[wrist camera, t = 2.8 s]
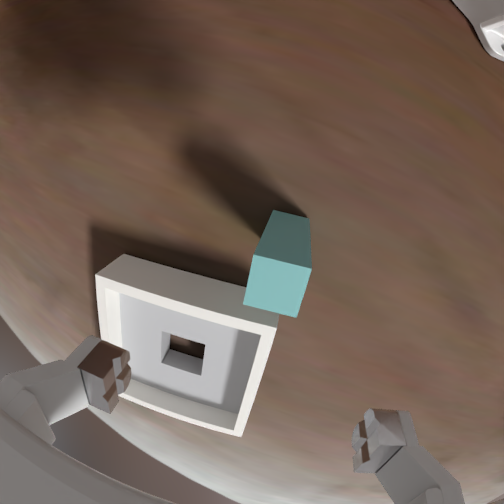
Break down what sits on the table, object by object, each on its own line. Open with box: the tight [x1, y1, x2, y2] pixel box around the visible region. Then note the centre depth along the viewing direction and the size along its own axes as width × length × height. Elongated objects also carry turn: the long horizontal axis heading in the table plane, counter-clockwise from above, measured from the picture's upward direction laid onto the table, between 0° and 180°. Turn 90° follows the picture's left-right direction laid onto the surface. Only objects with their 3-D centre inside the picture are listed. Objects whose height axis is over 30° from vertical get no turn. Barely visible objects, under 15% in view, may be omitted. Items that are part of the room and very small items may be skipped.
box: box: [95, 254, 279, 437], centre depth 28 cm, size 16×16×5 cm
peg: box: [243, 210, 312, 317], centre depth 20 cm, size 3×3×10 cm
